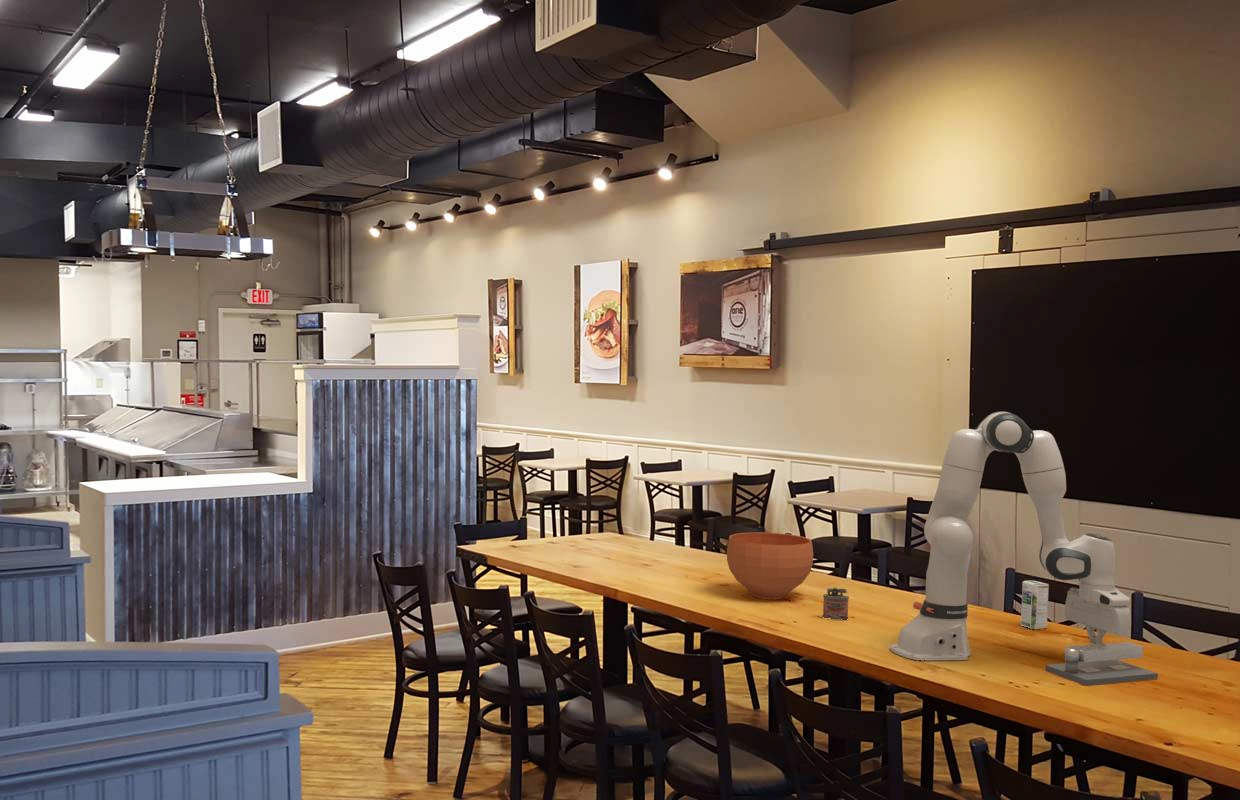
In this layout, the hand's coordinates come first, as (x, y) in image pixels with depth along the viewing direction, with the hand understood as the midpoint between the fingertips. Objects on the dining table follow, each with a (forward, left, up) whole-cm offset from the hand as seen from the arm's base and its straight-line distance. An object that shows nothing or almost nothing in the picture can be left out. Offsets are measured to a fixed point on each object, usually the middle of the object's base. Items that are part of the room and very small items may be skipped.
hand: (1095, 643), depth 276 cm
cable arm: (-6, -8, -1) cm, 11 cm away
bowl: (-47, +101, -6) cm, 111 cm away
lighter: (-42, +65, -6) cm, 77 cm away
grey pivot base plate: (-6, -8, -6) cm, 12 cm away
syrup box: (+15, +40, -6) cm, 43 cm away
